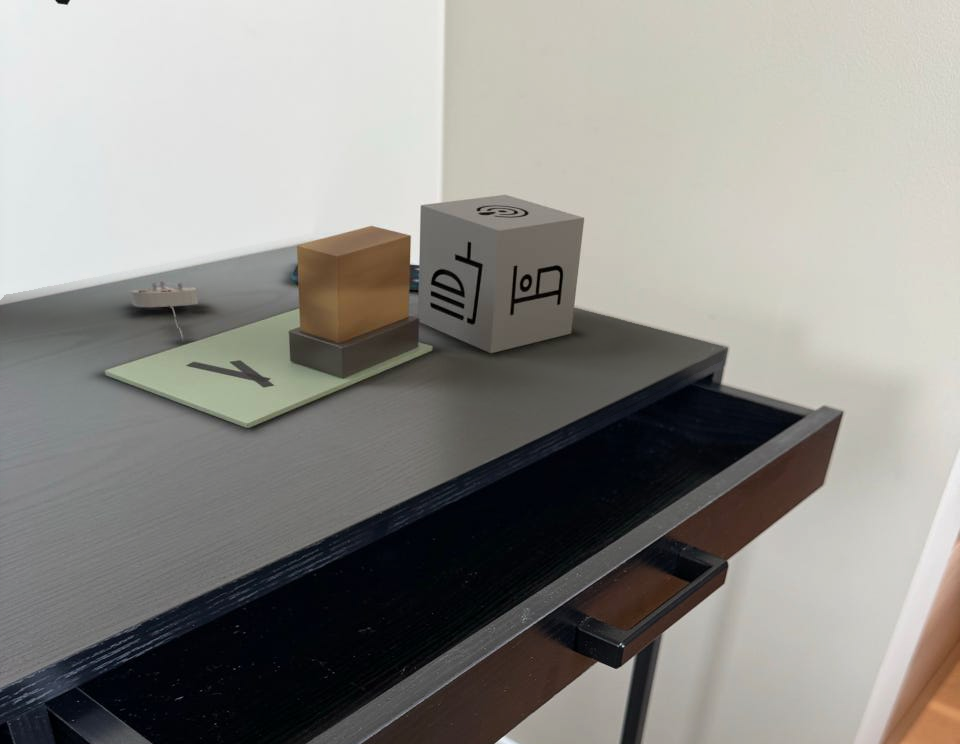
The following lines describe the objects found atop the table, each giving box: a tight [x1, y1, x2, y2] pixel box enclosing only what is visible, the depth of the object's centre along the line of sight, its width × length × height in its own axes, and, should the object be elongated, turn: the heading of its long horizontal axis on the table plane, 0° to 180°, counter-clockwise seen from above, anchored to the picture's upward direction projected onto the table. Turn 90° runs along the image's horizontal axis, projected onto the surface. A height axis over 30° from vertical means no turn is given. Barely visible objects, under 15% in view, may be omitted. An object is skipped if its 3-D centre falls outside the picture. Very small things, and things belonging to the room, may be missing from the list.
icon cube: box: [417, 194, 585, 354], centre depth 86 cm, size 10×10×10 cm
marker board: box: [104, 308, 433, 429], centre depth 79 cm, size 15×22×1 cm
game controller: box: [130, 280, 199, 343], centre depth 85 cm, size 6×12×3 cm, turn 40°
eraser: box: [289, 225, 420, 379], centre depth 77 cm, size 6×10×9 cm, turn 147°
